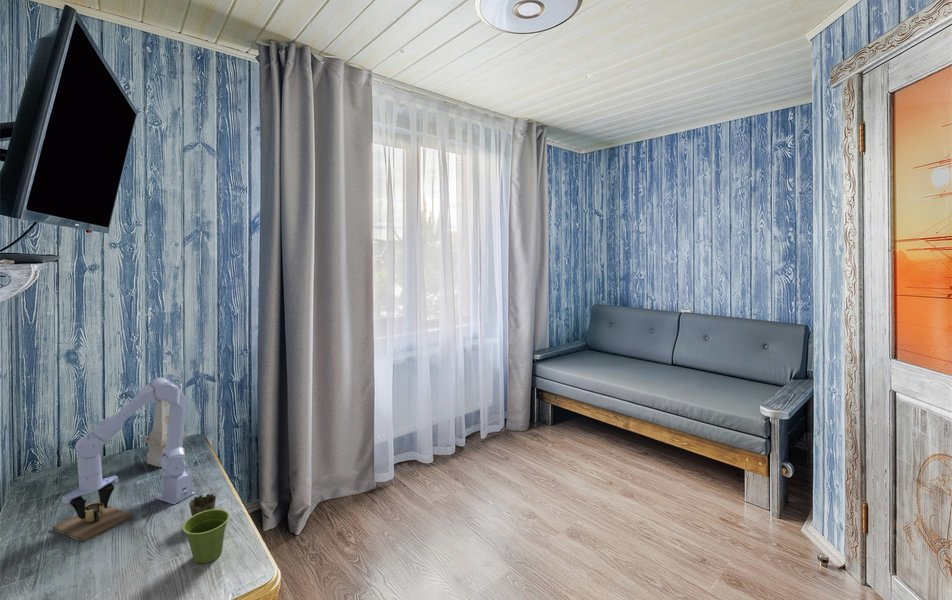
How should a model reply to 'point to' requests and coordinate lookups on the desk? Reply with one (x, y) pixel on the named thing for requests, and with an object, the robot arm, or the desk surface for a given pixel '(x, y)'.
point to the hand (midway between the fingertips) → (93, 512)
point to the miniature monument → (158, 433)
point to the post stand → (93, 523)
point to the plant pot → (206, 534)
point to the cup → (202, 504)
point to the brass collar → (90, 513)
